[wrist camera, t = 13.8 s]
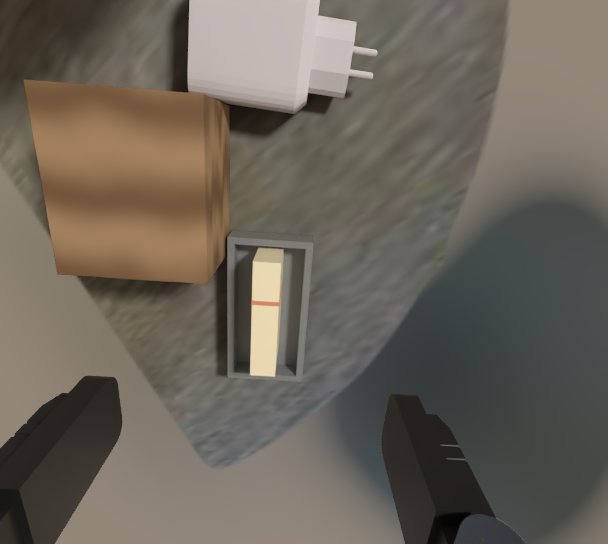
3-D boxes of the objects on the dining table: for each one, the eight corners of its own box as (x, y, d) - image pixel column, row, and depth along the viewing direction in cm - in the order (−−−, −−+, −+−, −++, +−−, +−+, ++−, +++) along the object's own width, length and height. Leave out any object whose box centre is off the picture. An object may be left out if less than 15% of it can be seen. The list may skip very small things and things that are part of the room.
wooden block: (98, 95, 33) (23, 79, 24) (229, 106, 33) (203, 93, 24) (115, 247, 38) (58, 281, 29) (229, 255, 38) (207, 290, 29)
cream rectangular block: (259, 243, 37) (252, 261, 32) (284, 244, 37) (281, 263, 32) (256, 343, 41) (249, 375, 36) (279, 344, 42) (275, 376, 36)
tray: (232, 230, 37) (227, 236, 35) (312, 235, 38) (313, 242, 35) (231, 363, 43) (227, 377, 41) (301, 367, 43) (301, 381, 41)
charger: (359, 124, 34) (201, 100, 33) (380, 10, 31) (206, -20, 30) (368, 122, 30) (186, 94, 29) (393, -11, 27) (189, -47, 26)
